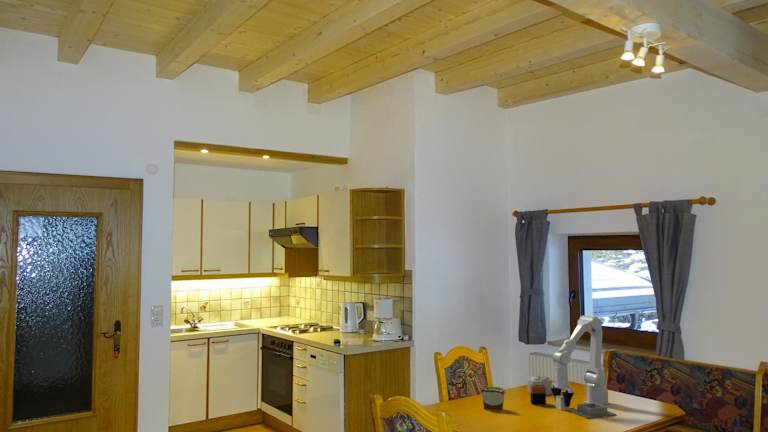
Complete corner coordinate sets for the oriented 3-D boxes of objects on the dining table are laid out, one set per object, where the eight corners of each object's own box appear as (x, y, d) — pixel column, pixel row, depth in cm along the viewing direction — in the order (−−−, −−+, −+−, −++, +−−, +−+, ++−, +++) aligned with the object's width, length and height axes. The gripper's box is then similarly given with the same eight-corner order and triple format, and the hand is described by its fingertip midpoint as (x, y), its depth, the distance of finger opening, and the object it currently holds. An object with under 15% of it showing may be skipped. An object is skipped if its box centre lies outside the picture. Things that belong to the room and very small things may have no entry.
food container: (508, 408, 286) (508, 387, 287) (505, 411, 281) (505, 390, 281) (484, 405, 291) (483, 385, 292) (480, 408, 286) (480, 388, 286)
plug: (564, 407, 287) (564, 394, 288) (569, 409, 283) (569, 396, 284) (555, 408, 286) (555, 395, 286) (560, 410, 282) (560, 397, 282)
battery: (546, 404, 292) (545, 384, 293) (532, 405, 292) (532, 385, 292) (543, 402, 296) (542, 382, 297) (530, 402, 296) (529, 383, 297)
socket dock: (596, 407, 285) (596, 400, 285) (616, 415, 272) (616, 407, 272) (569, 411, 280) (568, 403, 280) (587, 418, 267) (587, 410, 267)
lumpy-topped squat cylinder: (525, 391, 322) (525, 375, 322) (547, 389, 324) (547, 374, 325) (534, 395, 311) (533, 379, 312) (556, 394, 314) (556, 377, 314)
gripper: (546, 374, 291) (547, 401, 290) (563, 380, 277) (564, 409, 277) (558, 373, 293) (558, 400, 293) (576, 379, 280) (577, 407, 279)
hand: (562, 404), depth 285 cm, fingers open, 7 cm apart
